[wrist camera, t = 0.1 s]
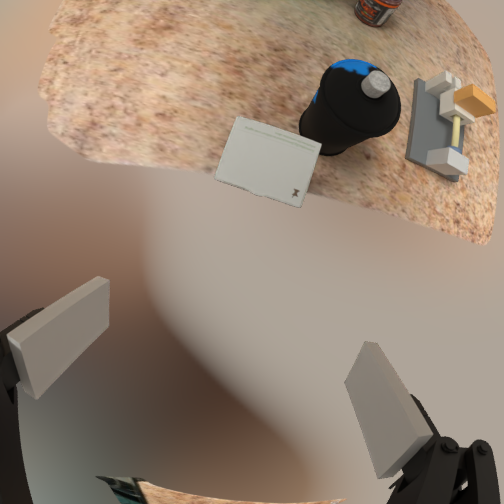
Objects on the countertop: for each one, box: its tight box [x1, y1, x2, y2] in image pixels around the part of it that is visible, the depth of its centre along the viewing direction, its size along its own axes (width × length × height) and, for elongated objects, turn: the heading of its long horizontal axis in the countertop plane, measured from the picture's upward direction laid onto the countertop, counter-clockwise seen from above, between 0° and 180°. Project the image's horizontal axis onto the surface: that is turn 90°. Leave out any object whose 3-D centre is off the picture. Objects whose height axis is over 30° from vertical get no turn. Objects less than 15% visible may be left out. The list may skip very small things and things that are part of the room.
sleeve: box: [439, 84, 496, 126], centre depth 25 cm, size 4×5×9 cm
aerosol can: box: [299, 59, 401, 156], centre depth 26 cm, size 8×8×20 cm
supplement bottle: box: [355, 0, 402, 27], centre depth 24 cm, size 6×6×11 cm
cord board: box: [405, 70, 469, 182], centre depth 30 cm, size 15×11×8 cm
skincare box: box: [214, 116, 322, 208], centre depth 30 cm, size 8×7×16 cm
